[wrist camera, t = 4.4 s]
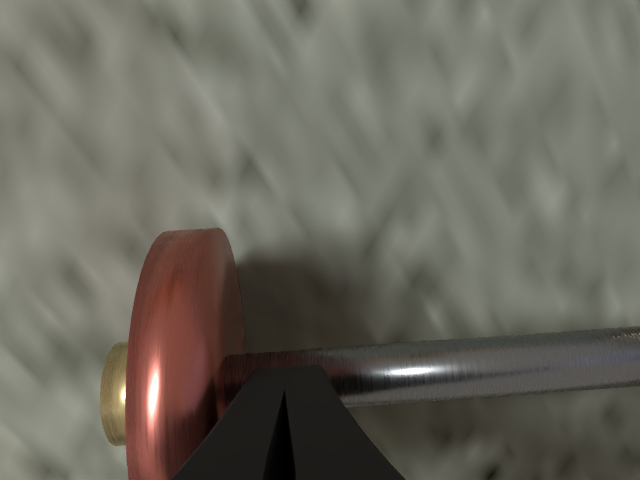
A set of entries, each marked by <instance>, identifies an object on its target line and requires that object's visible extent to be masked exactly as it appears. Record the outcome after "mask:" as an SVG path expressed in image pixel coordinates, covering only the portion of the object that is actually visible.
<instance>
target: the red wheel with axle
mask: <svg viewBox="0 0 640 480" xmlns="http://www.w3.org/2000/svg"><path fill="white" fill-rule="evenodd" d="M316 364H319V365H321V366H322V367H323V368H324V369H325V370H326V373H327V376H328V378H329V380H330V382H331V384H332V386H333V388H334V389H335V391H336V393H337V394H338V396H339V398H340V399H341V401H342V402H343V404H344V405H345V407H360V406H373V405H387V404H401V403H414V402H428V401H442V400H455V399H469V398H483V397H496V396H510V395H524V394H537V393H551V392H565V391H578V390H592V389H606V388H619V387H633V386H640V326H637V327H623V328H608V329H594V330H579V331H565V332H550V333H536V334H522V335H507V336H493V337H478V338H464V339H450V340H435V341H421V342H406V343H392V344H377V345H363V346H349V347H334V348H320V349H305V350H291V351H277V352H262V353H248V354H246V344H245V331H244V320H243V311H242V302H241V294H240V287H239V281H238V275H237V270H236V265H235V261H234V256H233V253H232V249H231V246H230V243H229V240H228V238H227V236H226V234H225V232H224V231H223V230H222V229H220V228H207V229H191V230H175V231H166V232H163V233H162V234H161V235H159V236H158V237H157V239H156V240H155V241H154V243H153V244H152V246H151V248H150V250H149V252H148V254H147V256H146V259H145V262H144V265H143V268H142V271H141V274H140V278H139V282H138V286H137V290H136V295H135V300H134V306H133V311H132V318H131V325H130V333H129V341H128V342H120V343H116V344H115V345H114V346H113V347H112V348H111V350H110V352H109V354H108V356H107V359H106V362H105V365H104V369H103V374H102V381H101V392H100V407H101V418H102V424H103V428H104V431H105V434H106V437H107V439H108V440H109V442H110V443H111V444H112V445H114V446H121V445H126V454H127V466H128V476H129V480H170V479H171V478H172V477H173V476H174V475H175V474H176V473H177V471H178V470H179V469H180V468H181V467H182V465H183V464H184V463H185V462H186V461H187V460H188V458H189V457H190V456H191V455H192V454H193V452H194V451H195V450H196V449H197V448H198V447H199V445H200V444H201V443H202V442H203V440H204V439H205V438H206V437H207V435H208V434H209V433H210V431H211V430H212V429H213V427H214V426H215V425H216V423H217V422H218V420H219V419H220V418H221V416H222V415H223V414H224V412H225V411H226V410H227V408H228V407H229V405H230V404H231V402H232V401H233V399H234V398H235V396H236V395H237V393H238V392H239V390H240V389H241V387H242V385H243V384H244V382H245V381H246V379H247V377H248V376H249V374H250V373H251V372H252V371H253V370H254V369H260V368H274V367H288V366H302V365H316Z"/></svg>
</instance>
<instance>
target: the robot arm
mask: <svg viewBox="0 0 640 480" xmlns="http://www.w3.org/2000/svg"><path fill="white" fill-rule="evenodd" d="M170 480H405V478H404V477H403V476H402V475H401V474H400V473H399V472H398V471H397V470H396V469H395V468H394V467H393V466H392V465H391V464H390V463H389V462H388V460H387V459H386V458H385V457H384V456H383V455H382V453H381V452H380V451H379V450H378V449H377V448H376V447H375V445H374V444H373V443H372V442H371V440H370V439H369V438H368V437H367V435H366V434H365V433H364V432H363V430H362V429H361V428H360V426H359V425H358V424H357V422H356V421H355V419H354V418H353V417H352V415H351V414H350V413H349V411H348V410H347V408H346V407H345V405H344V404H343V402H342V401H341V399H340V398H339V396H338V394H337V393H336V391H335V389H334V388H333V386H332V384H331V382H330V380H329V378H328V376H327V373H326V370H325V369H324V368H323V367H322V366H321V365H319V364H316V365H302V366H288V367H274V368H260V369H254V370H253V371H252V372H251V373H250V374H249V376H248V377H247V379H246V381H245V382H244V384H243V385H242V387H241V389H240V390H239V392H238V393H237V395H236V396H235V398H234V399H233V401H232V402H231V404H230V405H229V407H228V408H227V410H226V411H225V412H224V414H223V415H222V416H221V418H220V419H219V420H218V422H217V423H216V425H215V426H214V427H213V429H212V430H211V431H210V433H209V434H208V435H207V437H206V438H205V439H204V440H203V442H202V443H201V444H200V445H199V447H198V448H197V449H196V450H195V451H194V452H193V454H192V455H191V456H190V457H189V458H188V460H187V461H186V462H185V463H184V464H183V465H182V467H181V468H180V469H179V470H178V471H177V473H176V474H175V475H174V476H173V477H172V478H171V479H170Z"/></svg>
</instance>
